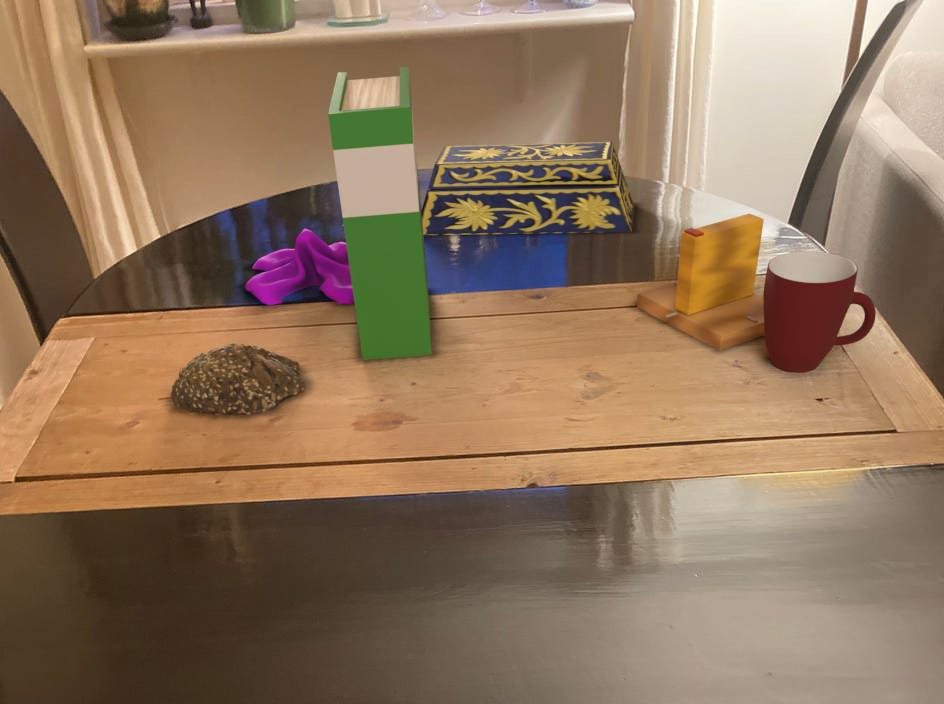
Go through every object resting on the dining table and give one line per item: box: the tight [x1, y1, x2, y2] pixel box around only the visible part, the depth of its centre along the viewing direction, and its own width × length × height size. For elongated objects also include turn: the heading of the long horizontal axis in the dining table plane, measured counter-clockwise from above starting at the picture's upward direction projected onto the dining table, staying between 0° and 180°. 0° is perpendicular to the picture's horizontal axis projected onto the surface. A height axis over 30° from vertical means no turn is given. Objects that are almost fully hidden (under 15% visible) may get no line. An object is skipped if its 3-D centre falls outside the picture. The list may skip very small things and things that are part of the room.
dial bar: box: [675, 213, 765, 315], centre depth 101 cm, size 9×2×8 cm, turn 119°
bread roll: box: [170, 342, 306, 416], centre depth 97 cm, size 13×12×5 cm
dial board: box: [636, 281, 764, 351], centre depth 104 cm, size 14×13×2 cm
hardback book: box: [327, 66, 433, 361], centre depth 100 cm, size 18×7×24 cm, turn 3°
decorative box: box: [421, 141, 635, 236], centre depth 129 cm, size 11×30×9 cm, turn 82°
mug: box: [762, 250, 877, 374], centre depth 92 cm, size 10×8×10 cm
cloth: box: [244, 228, 355, 306], centre depth 120 cm, size 22×19×6 cm
